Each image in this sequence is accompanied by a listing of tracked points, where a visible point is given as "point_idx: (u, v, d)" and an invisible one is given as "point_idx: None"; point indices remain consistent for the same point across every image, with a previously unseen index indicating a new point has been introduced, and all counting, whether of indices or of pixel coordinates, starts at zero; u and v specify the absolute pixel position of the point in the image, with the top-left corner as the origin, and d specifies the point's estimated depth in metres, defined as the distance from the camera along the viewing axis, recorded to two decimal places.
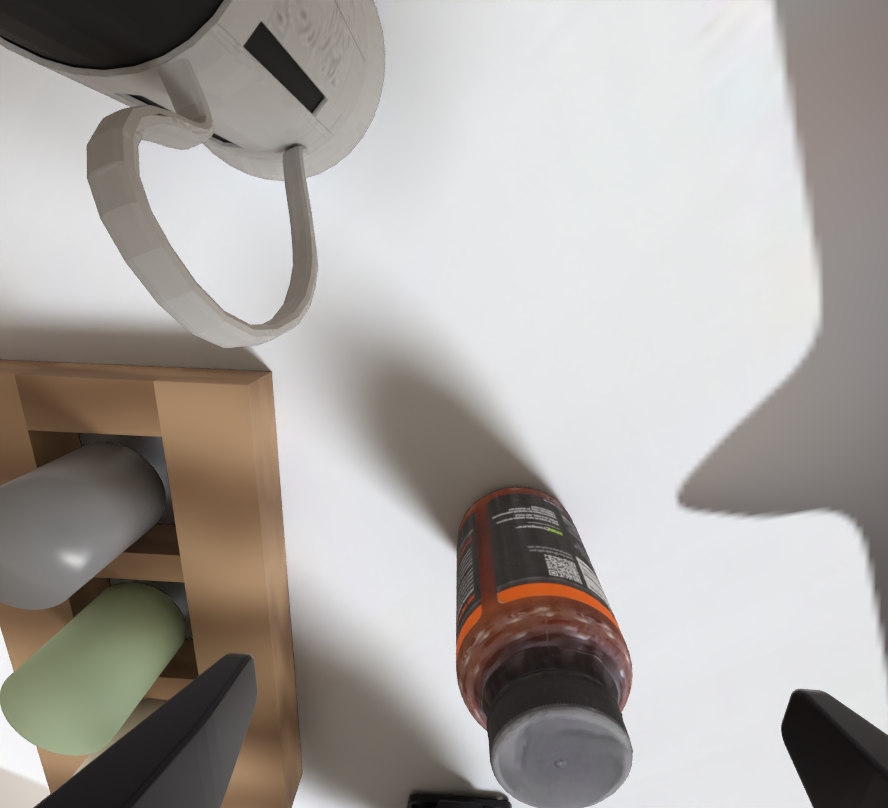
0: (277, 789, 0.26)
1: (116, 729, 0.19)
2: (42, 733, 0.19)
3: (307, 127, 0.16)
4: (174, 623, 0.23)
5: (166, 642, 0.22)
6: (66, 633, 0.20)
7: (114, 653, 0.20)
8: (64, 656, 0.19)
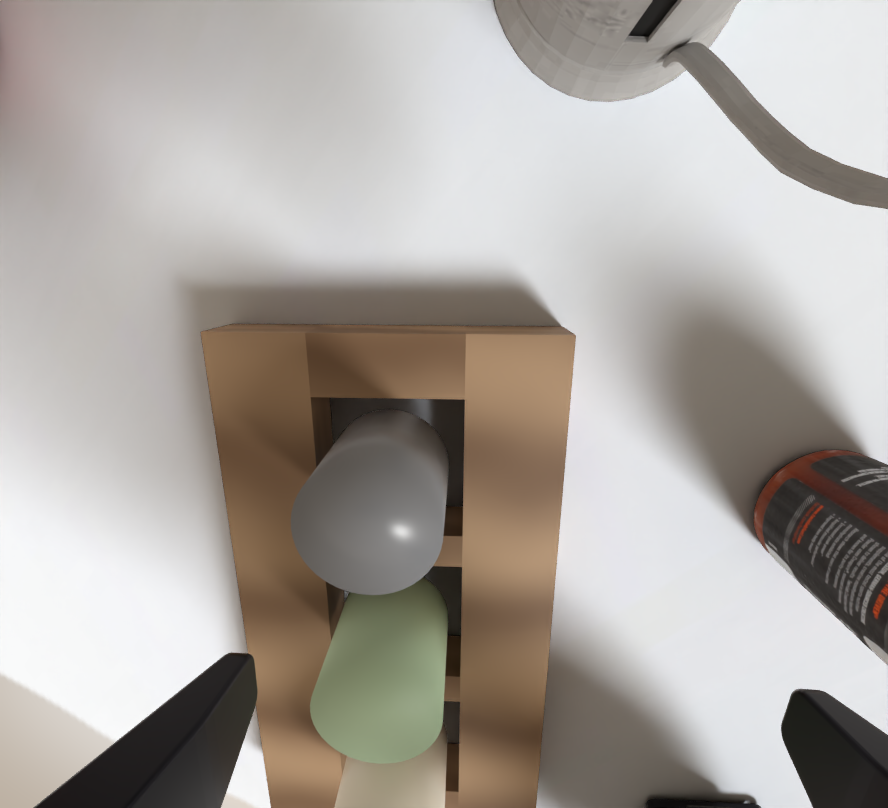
0: (528, 797, 0.24)
1: (438, 732, 0.17)
2: (351, 738, 0.17)
3: (723, 14, 0.13)
4: (445, 613, 0.20)
5: (446, 634, 0.20)
6: (365, 625, 0.18)
7: (424, 646, 0.17)
8: (385, 649, 0.16)
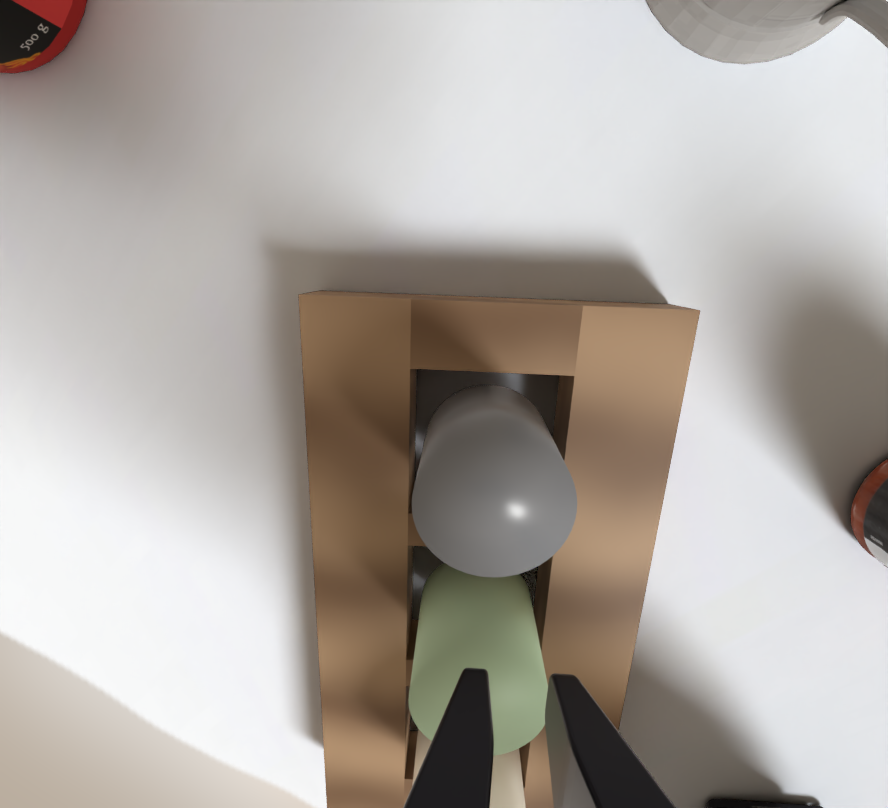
0: None
1: (542, 725, 0.16)
2: None
3: None
4: (531, 602, 0.20)
5: None
6: (463, 610, 0.17)
7: (526, 634, 0.16)
8: (492, 636, 0.15)
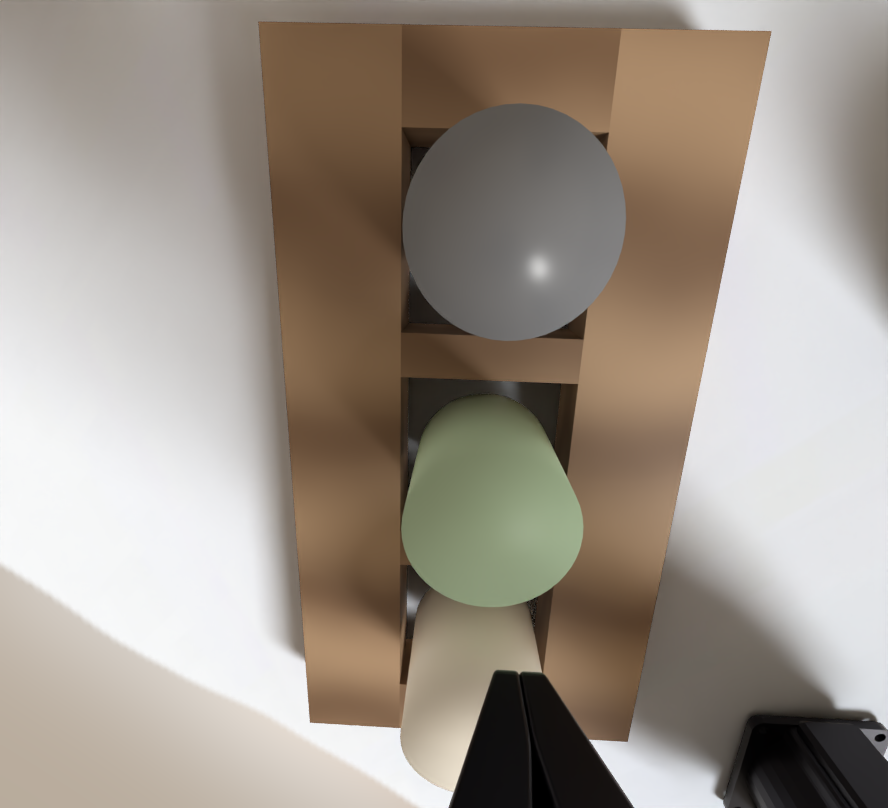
0: (625, 699, 0.20)
1: (572, 561, 0.13)
2: (454, 570, 0.13)
3: None
4: None
5: None
6: (470, 427, 0.13)
7: (550, 453, 0.13)
8: (508, 442, 0.12)
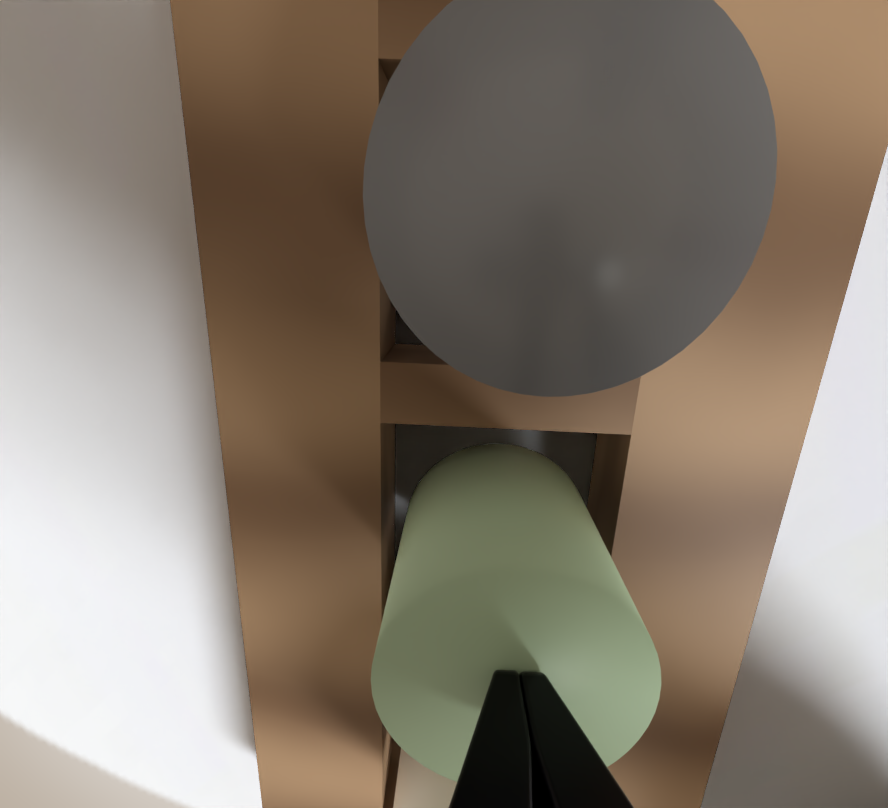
0: None
1: (640, 730, 0.08)
2: (454, 740, 0.08)
3: None
4: None
5: None
6: (480, 511, 0.09)
7: (603, 554, 0.08)
8: (541, 549, 0.08)
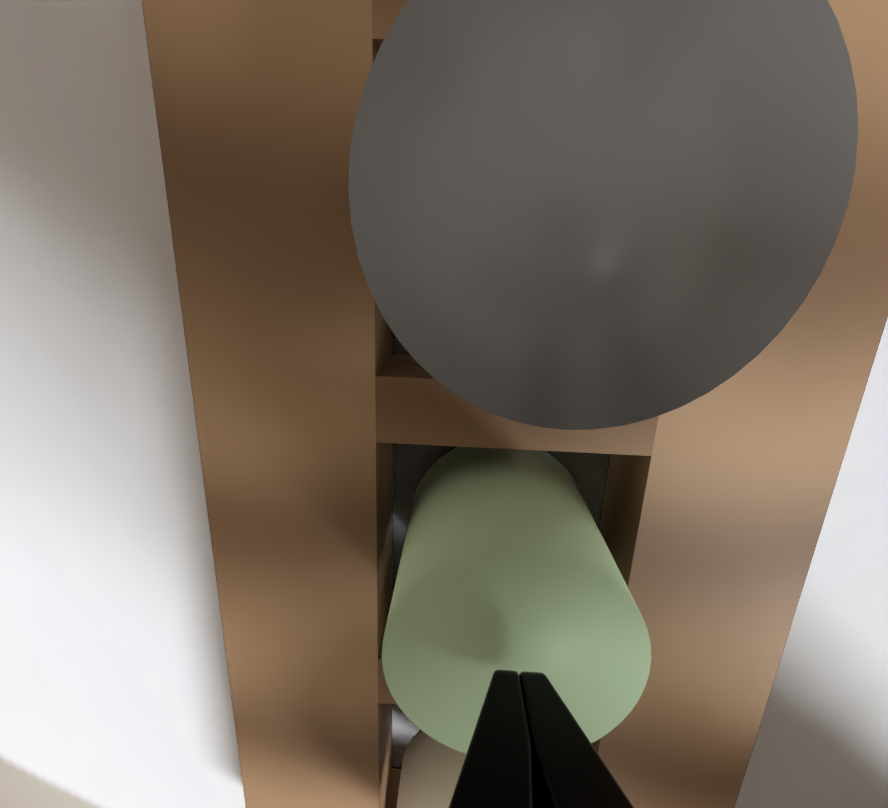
0: None
1: (632, 703, 0.09)
2: (458, 712, 0.09)
3: None
4: None
5: None
6: (483, 499, 0.09)
7: (597, 539, 0.09)
8: (540, 533, 0.08)
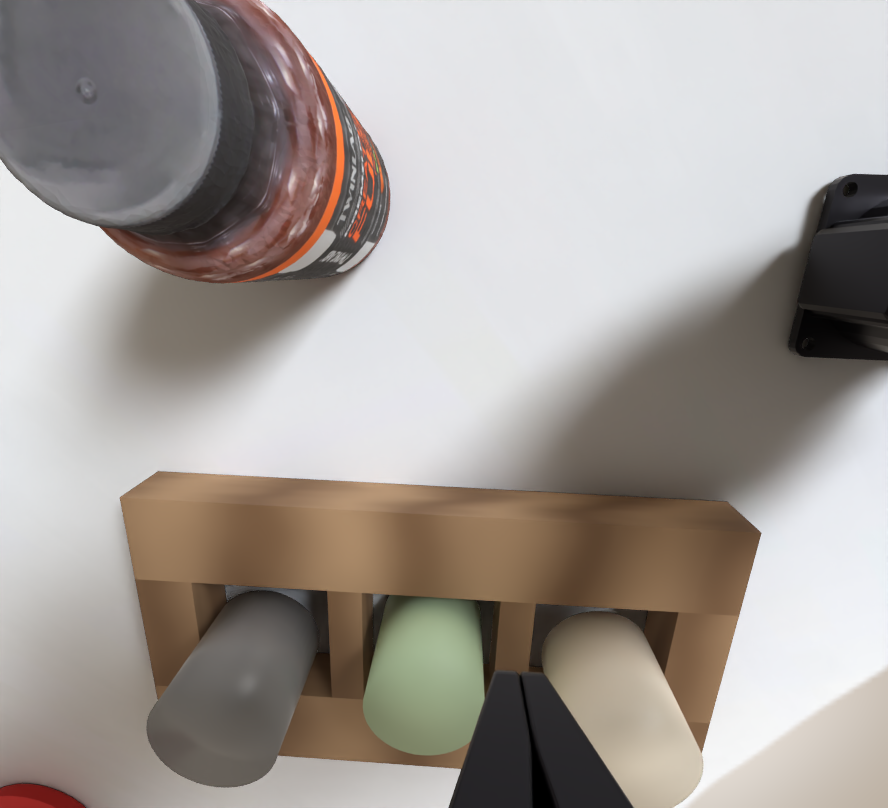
0: (698, 539, 0.19)
1: (446, 664, 0.17)
2: (454, 730, 0.18)
3: None
4: None
5: (424, 597, 0.21)
6: None
7: (384, 646, 0.19)
8: None
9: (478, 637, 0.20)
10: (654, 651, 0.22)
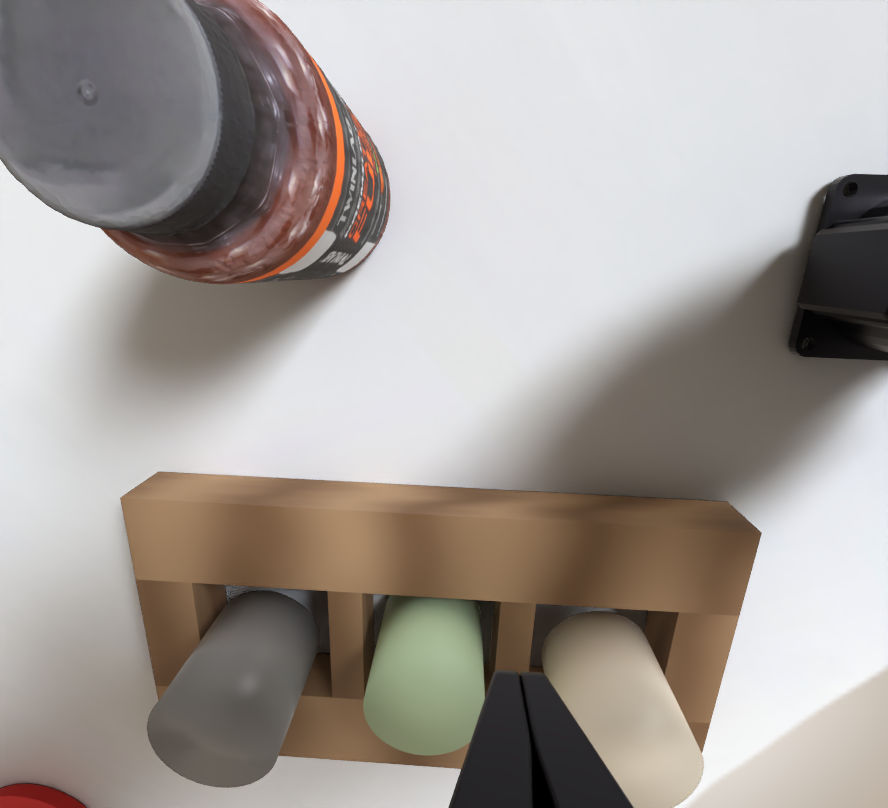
0: (698, 539, 0.19)
1: (447, 664, 0.17)
2: (454, 730, 0.18)
3: None
4: None
5: (424, 597, 0.21)
6: None
7: (385, 646, 0.19)
8: (366, 688, 0.19)
9: (478, 637, 0.20)
10: (654, 651, 0.22)
